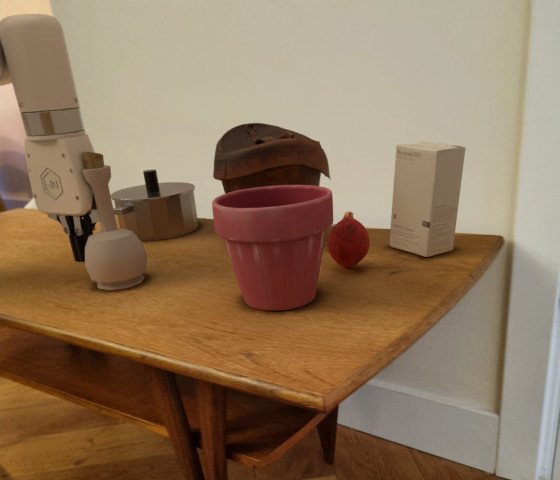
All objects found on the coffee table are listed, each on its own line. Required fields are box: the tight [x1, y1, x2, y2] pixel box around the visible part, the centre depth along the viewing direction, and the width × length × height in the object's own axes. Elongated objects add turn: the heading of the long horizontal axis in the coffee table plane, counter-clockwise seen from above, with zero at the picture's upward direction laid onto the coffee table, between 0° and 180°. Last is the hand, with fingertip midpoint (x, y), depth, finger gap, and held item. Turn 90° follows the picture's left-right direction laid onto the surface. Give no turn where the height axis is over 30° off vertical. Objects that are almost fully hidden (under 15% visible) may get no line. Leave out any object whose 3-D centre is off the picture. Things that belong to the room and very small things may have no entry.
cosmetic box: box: [389, 141, 466, 258], centre depth 80 cm, size 8×6×15 cm
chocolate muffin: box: [212, 122, 332, 194], centre depth 90 cm, size 18×20×18 cm
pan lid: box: [110, 169, 196, 202], centre depth 102 cm, size 16×16×5 cm
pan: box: [113, 190, 199, 242], centre depth 105 cm, size 15×20×7 cm
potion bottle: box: [82, 151, 148, 291], centre depth 76 cm, size 9×9×18 cm
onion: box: [327, 210, 371, 270], centre depth 76 cm, size 6×6×8 cm
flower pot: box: [211, 185, 334, 311], centre depth 67 cm, size 14×14×13 cm
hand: (86, 259), depth 82 cm, fingers closed
